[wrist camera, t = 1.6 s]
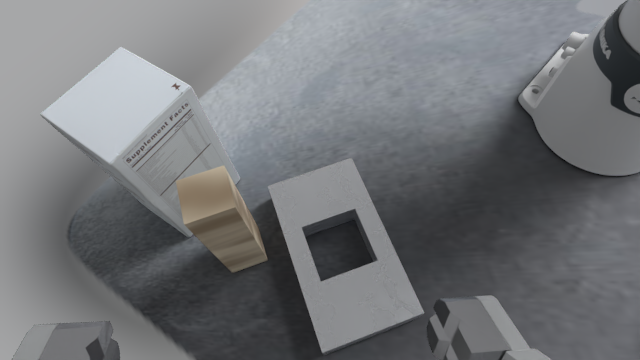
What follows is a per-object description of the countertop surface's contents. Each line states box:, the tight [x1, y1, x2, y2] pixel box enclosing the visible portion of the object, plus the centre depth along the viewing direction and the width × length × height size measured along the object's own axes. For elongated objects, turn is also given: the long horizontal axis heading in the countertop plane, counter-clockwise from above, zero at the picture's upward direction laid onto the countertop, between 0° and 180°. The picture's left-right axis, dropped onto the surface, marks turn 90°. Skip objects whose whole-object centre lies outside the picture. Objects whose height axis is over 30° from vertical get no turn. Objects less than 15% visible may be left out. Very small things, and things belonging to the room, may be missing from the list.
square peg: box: [176, 165, 268, 273], centre depth 36 cm, size 4×4×14 cm
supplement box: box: [40, 47, 240, 237], centre depth 39 cm, size 10×9×17 cm
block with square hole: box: [268, 158, 424, 355], centre depth 40 cm, size 18×10×3 cm, turn 20°
